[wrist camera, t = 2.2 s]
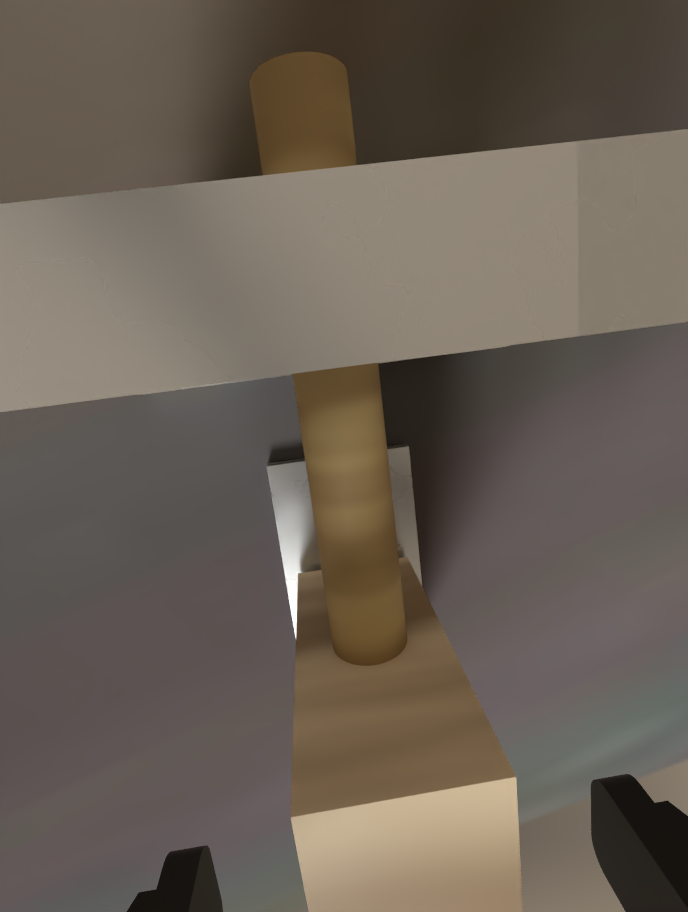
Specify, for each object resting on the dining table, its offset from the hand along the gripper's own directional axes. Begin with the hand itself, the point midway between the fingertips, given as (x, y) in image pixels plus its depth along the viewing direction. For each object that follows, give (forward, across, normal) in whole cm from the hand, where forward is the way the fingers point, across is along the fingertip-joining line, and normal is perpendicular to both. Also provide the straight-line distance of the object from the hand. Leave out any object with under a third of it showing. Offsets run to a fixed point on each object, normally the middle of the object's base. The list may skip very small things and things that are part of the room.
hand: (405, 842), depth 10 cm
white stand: (+9, 0, -3) cm, 9 cm away
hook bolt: (+8, 0, -7) cm, 11 cm away
